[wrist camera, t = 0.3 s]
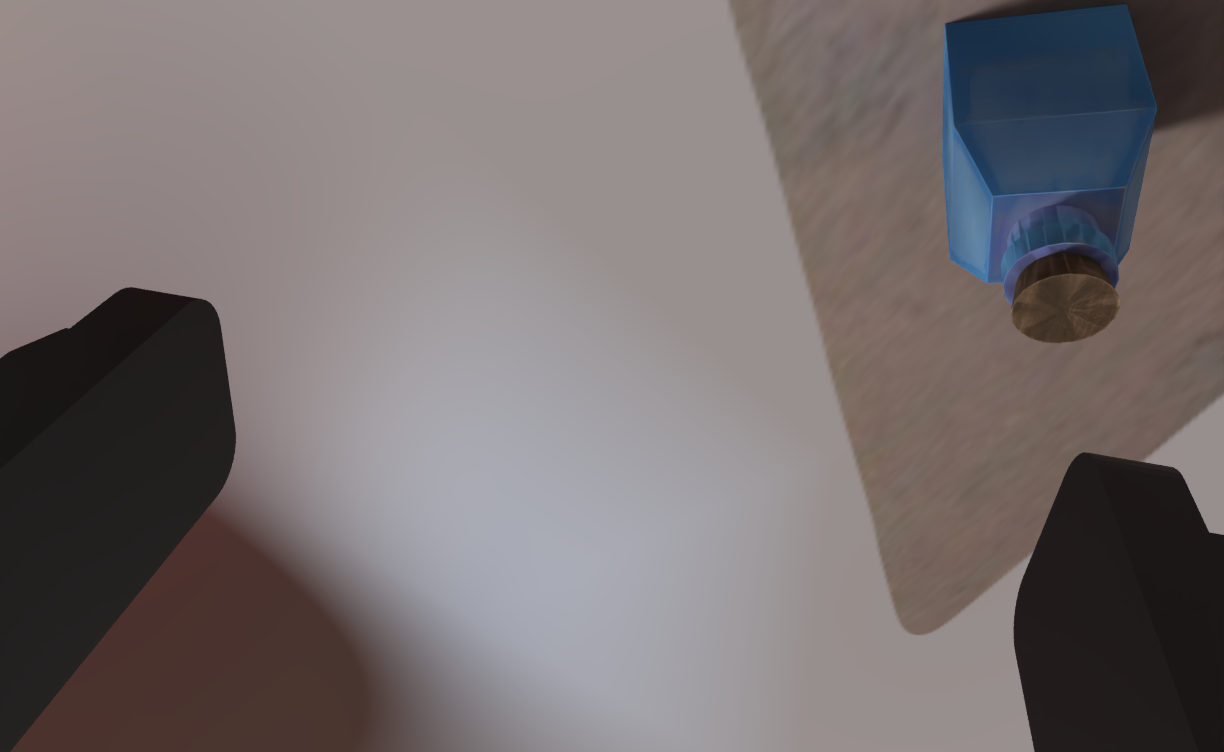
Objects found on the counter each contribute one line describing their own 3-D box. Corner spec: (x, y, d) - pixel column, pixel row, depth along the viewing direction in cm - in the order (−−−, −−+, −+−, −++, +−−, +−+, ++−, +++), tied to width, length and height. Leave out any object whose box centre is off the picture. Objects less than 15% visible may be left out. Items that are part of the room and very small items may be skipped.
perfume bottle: (945, 23, 38) (963, 242, 31) (1126, 3, 37) (1193, 230, 29) (942, 156, 43) (958, 375, 35) (1104, 143, 41) (1156, 371, 34)
